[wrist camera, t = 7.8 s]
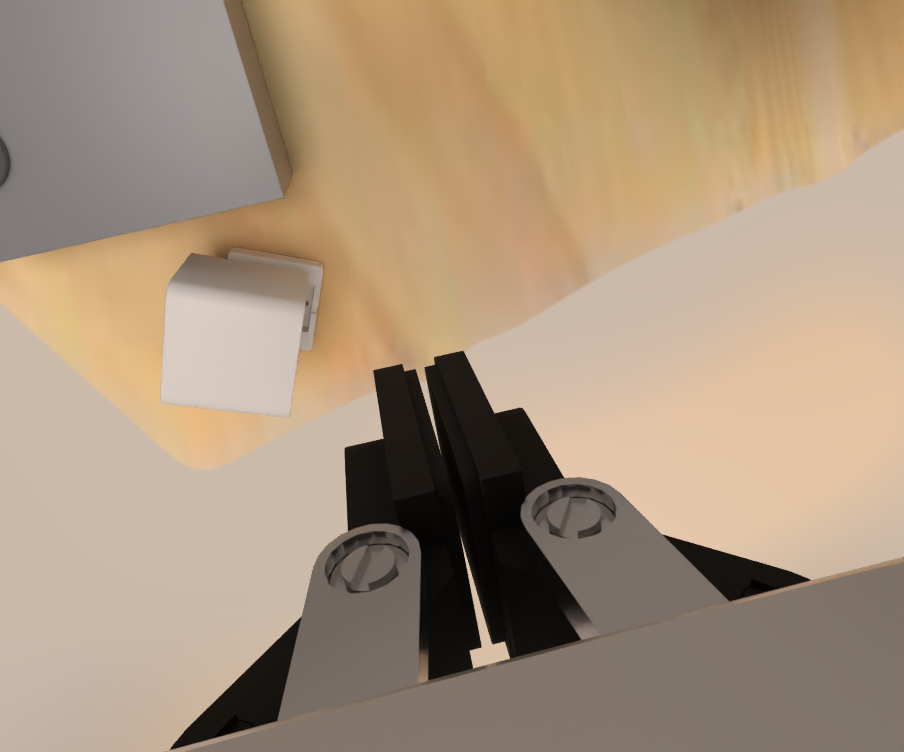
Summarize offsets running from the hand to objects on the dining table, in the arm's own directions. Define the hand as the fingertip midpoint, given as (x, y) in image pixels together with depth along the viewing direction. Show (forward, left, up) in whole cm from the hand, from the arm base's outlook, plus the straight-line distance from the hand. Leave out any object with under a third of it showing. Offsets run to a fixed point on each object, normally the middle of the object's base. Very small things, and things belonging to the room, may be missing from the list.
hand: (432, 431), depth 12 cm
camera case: (+11, -8, -29) cm, 32 cm away
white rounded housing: (+8, +5, -29) cm, 30 cm away
